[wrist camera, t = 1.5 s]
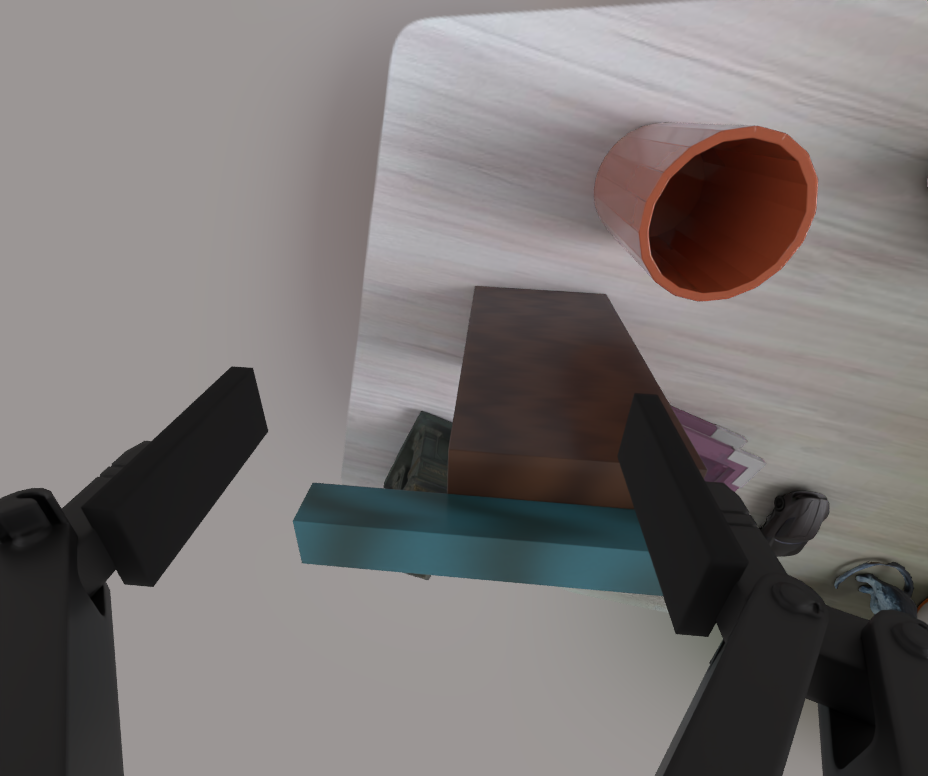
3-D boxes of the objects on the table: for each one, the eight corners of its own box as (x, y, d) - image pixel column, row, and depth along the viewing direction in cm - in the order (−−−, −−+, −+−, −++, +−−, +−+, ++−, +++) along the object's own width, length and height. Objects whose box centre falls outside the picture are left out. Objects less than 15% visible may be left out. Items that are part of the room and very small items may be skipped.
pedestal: (470, 367, 54) (444, 568, 30) (474, 285, 49) (448, 449, 25) (589, 375, 53) (659, 587, 29) (606, 294, 48) (708, 470, 24)
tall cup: (617, 109, 40) (684, 106, 25) (729, 138, 40) (858, 152, 26) (577, 227, 45) (613, 281, 30) (677, 252, 45) (759, 316, 31)
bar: (319, 523, 29) (301, 563, 26) (312, 482, 27) (292, 520, 24) (673, 554, 28) (690, 598, 25) (690, 513, 26) (710, 557, 23)
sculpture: (822, 563, 66) (899, 670, 54) (907, 553, 64) (1008, 663, 51) (817, 598, 70) (887, 705, 58) (897, 590, 68) (988, 700, 55)
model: (444, 501, 66) (430, 595, 53) (385, 479, 64) (355, 570, 51) (483, 433, 59) (478, 521, 46) (418, 407, 57) (394, 491, 45)
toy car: (744, 543, 65) (757, 565, 62) (783, 481, 59) (800, 503, 56) (784, 548, 65) (799, 571, 62) (827, 487, 59) (846, 509, 56)
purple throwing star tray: (628, 557, 69) (637, 586, 64) (533, 522, 66) (535, 550, 62) (746, 437, 56) (766, 463, 52) (634, 388, 54) (645, 412, 49)
